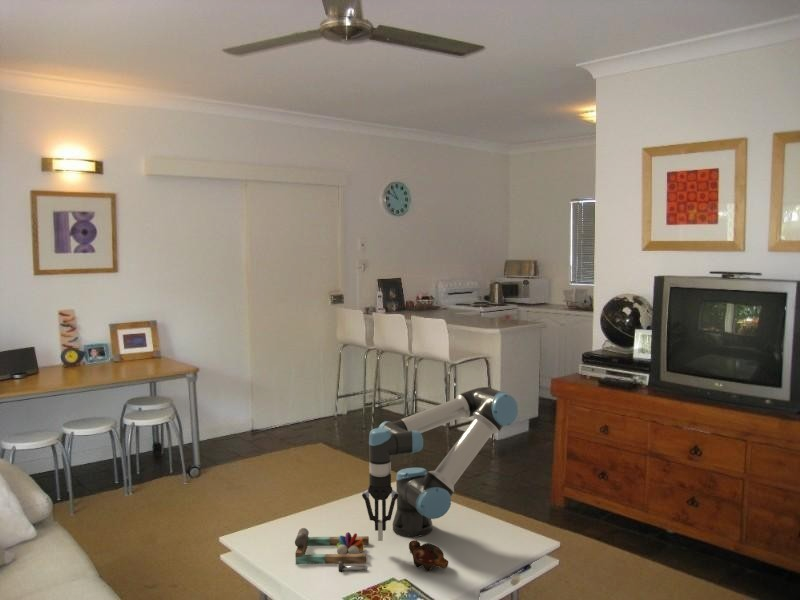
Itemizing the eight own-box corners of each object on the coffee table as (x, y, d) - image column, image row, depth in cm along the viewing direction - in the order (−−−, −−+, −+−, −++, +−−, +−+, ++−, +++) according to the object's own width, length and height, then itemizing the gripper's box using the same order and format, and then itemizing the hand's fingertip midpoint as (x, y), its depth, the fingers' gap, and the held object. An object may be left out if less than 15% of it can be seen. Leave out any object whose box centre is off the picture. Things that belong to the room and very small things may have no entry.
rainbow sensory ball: (360, 559, 231) (360, 539, 230) (333, 557, 233) (333, 537, 232) (366, 548, 239) (366, 529, 238) (340, 546, 241) (340, 527, 240)
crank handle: (367, 569, 223) (367, 560, 223) (367, 571, 221) (367, 563, 221) (338, 569, 223) (338, 560, 223) (338, 572, 221) (338, 563, 221)
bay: (368, 543, 243) (368, 522, 243) (366, 563, 227) (365, 541, 227) (300, 543, 243) (300, 523, 243) (293, 564, 227) (292, 542, 227)
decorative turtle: (414, 556, 232) (415, 534, 231) (453, 569, 224) (455, 546, 224) (400, 566, 224) (401, 543, 223) (440, 580, 216) (442, 556, 216)
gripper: (398, 469, 237) (399, 534, 238) (362, 469, 237) (362, 534, 238) (398, 476, 229) (398, 543, 231) (360, 476, 229) (361, 543, 231)
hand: (380, 539), depth 235 cm, fingers closed
